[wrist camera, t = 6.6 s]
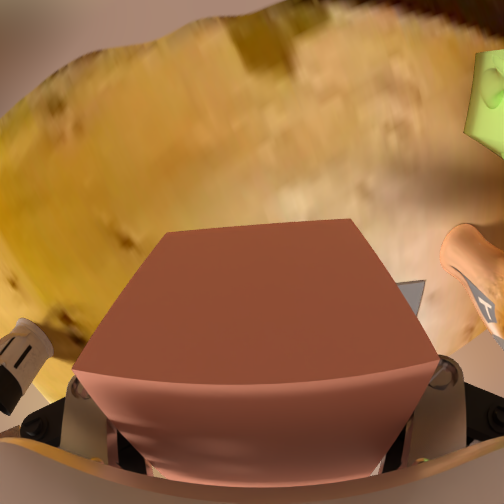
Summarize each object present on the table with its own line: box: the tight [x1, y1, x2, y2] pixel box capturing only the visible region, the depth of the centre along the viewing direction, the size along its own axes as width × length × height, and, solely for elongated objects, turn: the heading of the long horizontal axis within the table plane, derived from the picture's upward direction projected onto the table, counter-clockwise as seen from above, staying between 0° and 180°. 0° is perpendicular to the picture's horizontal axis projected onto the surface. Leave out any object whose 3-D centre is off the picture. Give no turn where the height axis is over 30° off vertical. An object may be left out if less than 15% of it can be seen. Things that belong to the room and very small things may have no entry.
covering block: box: [72, 219, 440, 487], centre depth 8 cm, size 6×6×6 cm
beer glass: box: [440, 224, 504, 350], centre depth 19 cm, size 7×7×15 cm
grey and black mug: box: [0, 318, 54, 416], centre depth 29 cm, size 9×14×15 cm, turn 148°
